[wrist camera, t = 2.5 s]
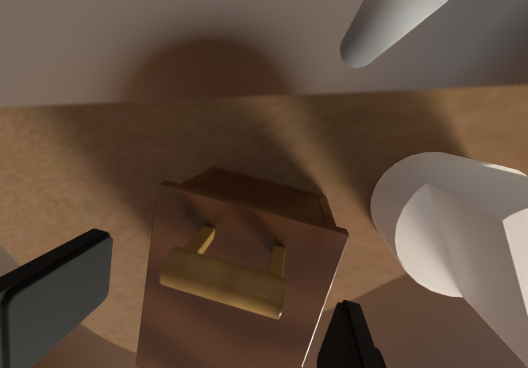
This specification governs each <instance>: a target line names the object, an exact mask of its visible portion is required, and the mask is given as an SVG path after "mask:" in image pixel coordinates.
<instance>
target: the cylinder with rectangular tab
mask: <svg viewBox="0 0 528 368" xmlns="http://www.w3.org/2000/svg"><path fill="white" fill-rule="evenodd" d="M370 211H371V216H372V221H373V223H374V225H375V227H376V229H377V231H378V232H379V234H380V235H381V237H382V238H383V240H384V241H385V242H386V244H387V245H388V247H389V248H390V250H391V251H392V252H393V254H394V255H395V257H396V258H397V260H398V261H399V262H400V264H401V265H402V267H403V268H404V270H405V271H406V272H407V273H408V274H409V275H410V276H411V277H412V278H413V279H414V280H415V281H416V282H417V283H419V284H421V285H423V286H424V287H426V288H428V289H429V290H431V291H433V292H437V293H440V294H444V295H447V296H453V297H463V298H464V299H465V300H466V301H467V302H468V303H469V304H470V305H471V306H472V307H473V308H474V310H476V312H477V313H478V314H479V315H480V316H481V317H482V318H483V319H484V320H485V321H486V322H487V324H489V326H490V327H491V328H492V329H493V330H494V331H495V332H496V333H497V334H498V336H499V337H500V338H501V339H502V340H503V341H504V342H505V343H506V344H507V345H508V346H509V348H510V349H511V350H512V351H513V352H514V353H515V354H516V355H517V356H518V357H519V358H520V359H521V360H522V362H523V363H524V364H525V365H526V366H527V367H528V176H527V175H525V174H523V173H521V172H520V171H518V170H515V169H511V168H507V167H503V166H499V165H495V164H491V163H487V162H482V161H478V160H474V159H469V158H465V157H461V156H456V155H452V154H448V153H443V152H423V153H419V154H415V155H411V156H409V157H407V158H405V159H403V160H401V161H399V162H397V163H395V164H394V165H393V166H392V167H390V168H389V169H388V170H387V171H386V172H385V173H384V174H383V175H382V177H381V178H380V180H379V181H378V182H377V184H376V186H375V188H374V191H373V194H372V196H371V206H370Z"/></svg>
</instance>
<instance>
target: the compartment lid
mask: <svg viewBox="0 0 528 368" xmlns="http://www.w3.org/2000/svg"><path fill="white" fill-rule="evenodd" d="M348 238H349V234H348V231H347V229H344V228H340V227H336V226H333V225H329V224H325V223H321V222H318V221H314V220H310V219H307V218H303V217H299V216H295V215H292V214H288V213H284V212H281V211H277V210H273V209H269V208H266V207H262V206H258V205H255V204H251V203H247V202H243V201H240V200H236V199H232V198H229V197H225V196H221V195H217V194H214V193H210V192H206V191H203V190H199V189H195V188H191V187H188V186H184V185H180V184H177V183H173V182H169V181H163V182H161V183H158V187H157V195H156V203H155V211H154V220H153V228H152V236H151V244H150V252H149V260H148V268H147V276H146V285H145V293H144V301H143V309H142V317H141V325H140V333H139V342H138V350H137V358H136V366H137V367H140V368H302V366H303V363H304V360H305V357H306V355H307V352H308V349H309V346H310V343H311V341H312V338H313V335H314V332H315V329H316V327H317V324H318V321H319V318H320V316H321V313H322V310H323V307H324V305H325V302H326V299H327V296H328V294H329V291H330V288H331V285H332V282H333V280H334V277H335V274H336V271H337V268H338V266H339V263H340V260H341V257H342V255H343V252H344V249H345V246H346V243H347V241H348Z"/></svg>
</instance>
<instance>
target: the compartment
mask: <svg viewBox="0 0 528 368" xmlns="http://www.w3.org/2000/svg"><path fill="white" fill-rule="evenodd" d="M180 185H184V186H188V187H191V188H195V189H199V190H203V191H206V192H210V193H214V194H217V195H221V196H225V197H229V198H232V199H236V200H240V201H243V202H247V203H251V204H255V205H258V206H262V207H266V208H269V209H273V210H277V211H281V212H284V213H288V214H292V215H295V216H299V217H303V218H307V219H310V220H314V221H318V222H321V223H325V224H329V225H333V226H336V224H335V221H334V218H333V215H332V212H331V210H330V207H329V204H328V201H327V198H326V196H324V195H320V194H316V193H313V192H309V191H305V190H301V189H297V188H294V187H290V186H286V185H282V184H278V183H274V182H271V181H267V180H263V179H259V178H255V177H251V176H248V175H244V174H240V173H236V172H232V171H229V170H225V169H221V168H217V167H211V168H209V169H207V170H206V171H204V172H202V173H200V174H198V175H196V176H195V177H193V178H191V179H189V180H187V181H185V182H184V183H182V184H180Z"/></svg>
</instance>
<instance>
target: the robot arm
mask: <svg viewBox="0 0 528 368" xmlns="http://www.w3.org/2000/svg"><path fill="white" fill-rule="evenodd" d="M112 245H113V239H112V237H110V233H108V232H105V231H102V230H98V229H92V230H90V231H88V232H86V233H84V234H82V235H80V236H78V237H76V238H74V239H72V240H70V241H69V242H67V243H65V244H63V245H61V246H59V247H57V248H55V249H53V250H51V251H49V252H47V253H46V254H44V255H42V256H40V257H38V258H36V259H34V260H32V261H30V262H28V263H26V264H24V265H23V266H21V267H19V268H17V269H15V270H13V271H11V272H9V273H7V274H5V275H3V276H1V277H0V368H32V367H33V366H34V365H35V364H36V363H37V362H38V361H39V360H40V359H41V358H43V357H44V356H45V355H46V354H47V353H48V352H49V351H50V350H51V349H52V348H53V347H54V346H56V345H57V344H58V343H59V342H60V341H61V340H62V339H63V338H64V337H65V336H66V335H67V334H69V333H70V332H71V331H72V330H73V329H74V328H75V327H76V326H77V325H78V324H79V323H80V322H82V321H83V320H84V319H85V318H86V317H87V316H88V315H89V314H90V313H91V312H92V311H93V310H94V309H96V308H97V307H98V306H99V305H100V304H101V303H102V302H103V301H104V300H105V298H106V297H107V295H108V291H109V279H110V268H111V256H112ZM317 368H386V365H385V362H384V360H383V357H382V354H381V352H380V351H379V349H378V348H375V346H374V343H373V340H372V338H371V335H370V332H369V329H368V326H367V323H366V320H365V318H364V314H363V311H362V309H361V306H360V304H358V303H354V302H351V301H347V300H343V302H342V303H340V302H338V303H337V305H336V308H335V311H334V314H333V316H332V319H331V322H330V324H329V327H328V330H327V332H326V335H325V338H324V341H323V343H322V346H321V349H320V352H319V354H318V358H317Z"/></svg>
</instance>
